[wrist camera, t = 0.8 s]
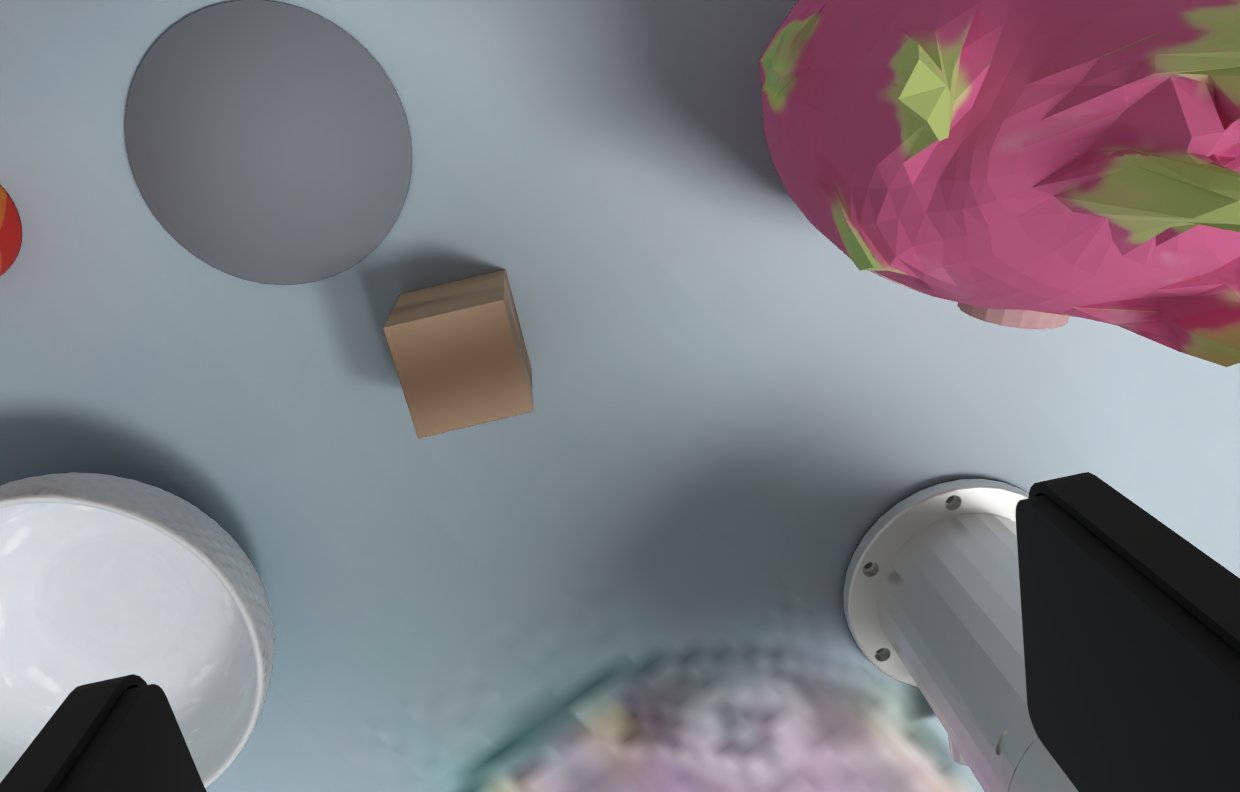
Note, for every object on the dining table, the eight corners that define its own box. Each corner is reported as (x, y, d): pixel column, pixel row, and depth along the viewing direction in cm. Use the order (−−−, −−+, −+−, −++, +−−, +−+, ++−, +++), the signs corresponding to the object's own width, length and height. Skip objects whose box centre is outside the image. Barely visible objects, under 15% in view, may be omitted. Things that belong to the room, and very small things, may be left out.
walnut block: (531, 368, 46) (532, 411, 40) (430, 392, 46) (418, 438, 40) (505, 269, 44) (503, 299, 39) (400, 293, 44) (383, 327, 38)
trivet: (444, 250, 43) (443, 251, 43) (187, 310, 43) (186, 311, 43) (364, -29, 39) (364, -30, 39) (80, 35, 39) (78, 35, 39)
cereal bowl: (251, 760, 52) (211, 863, 45) (-78, 685, 48) (-173, 785, 42) (337, 492, 47) (307, 563, 40) (-21, 388, 44) (-118, 447, 37)
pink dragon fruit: (664, 222, 44) (919, 507, 16) (722, -99, 40) (1209, -486, 12) (1016, 275, 47) (1769, 603, 19) (1106, -21, 42) (2263, -181, 14)
